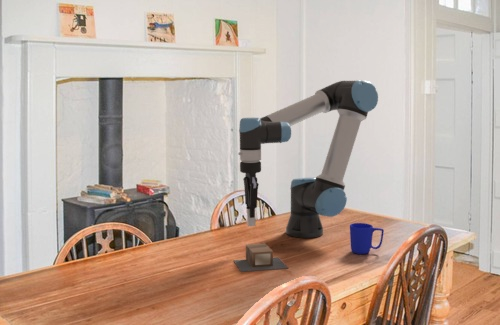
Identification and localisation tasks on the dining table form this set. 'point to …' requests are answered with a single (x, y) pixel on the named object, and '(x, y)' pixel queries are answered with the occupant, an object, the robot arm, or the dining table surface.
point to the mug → (363, 237)
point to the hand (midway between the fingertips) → (251, 225)
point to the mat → (246, 267)
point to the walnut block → (259, 255)
